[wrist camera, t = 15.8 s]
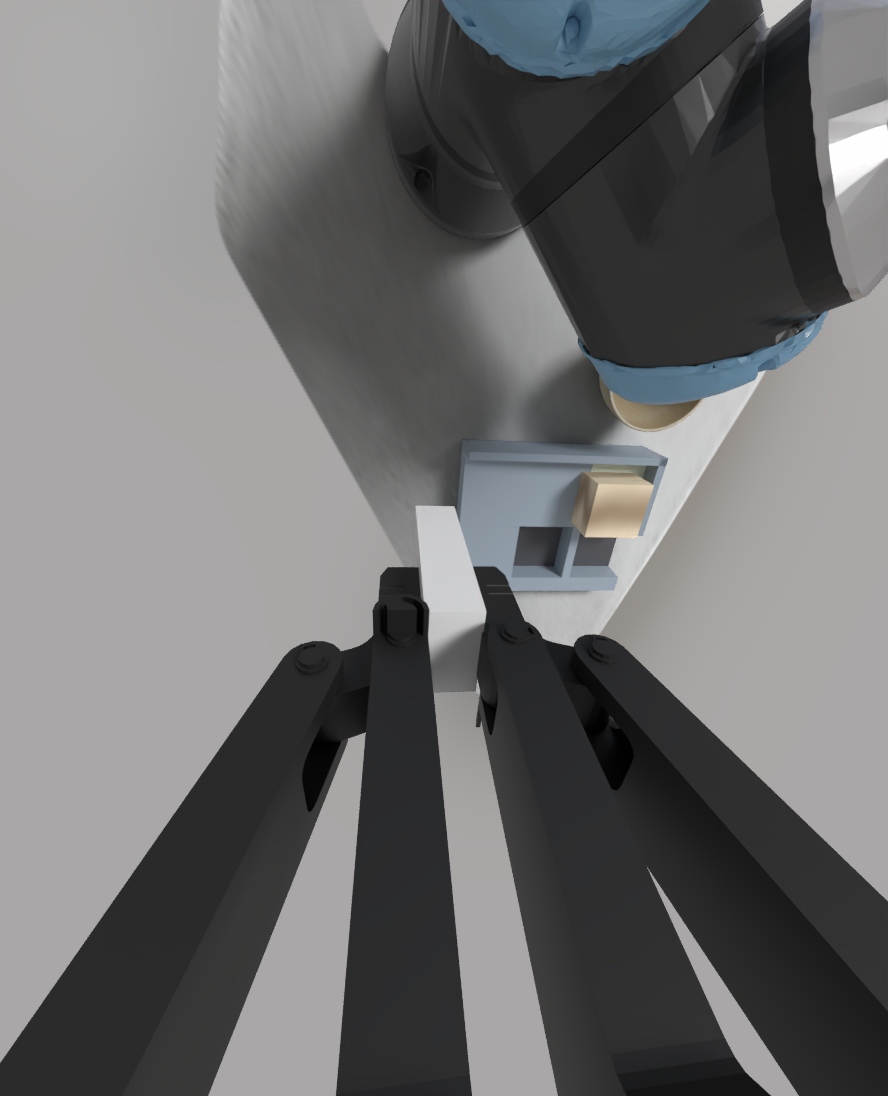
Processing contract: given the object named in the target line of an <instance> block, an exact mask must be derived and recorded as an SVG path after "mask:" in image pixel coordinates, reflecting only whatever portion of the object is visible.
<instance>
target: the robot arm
mask: <svg viewBox="0 0 888 1096" xmlns="http://www.w3.org/2000/svg"><path fill="white" fill-rule="evenodd" d="M762 13H763V8H762V3H761V0H408V1H407V3H406V5H405V7H404V9H403V11H402V13H401V15H400V18H399V21H398V23H397V26H396V29H395V33H394V36H393V40H392V44H391V48H390V52H389V57H388V63H387V71H386V83H385V103H386V120H387V130H388V137H389V142H390V147H391V151H392V155H393V158H394V162H395V165H396V167H397V170H398V173H399V175H400V177H401V180H402V182H403V184H404V186H405V188H406V190H407V191H408V193H409V194H410V196H411V198H412V199H413V201H414V202H415V203H416V205H417V206H418V207H419V208H420V210H421V211H422V212H423V213H424V214H425V215H426V216H427V217H428V218H429V219H430V220H431V221H433V222H434V223H435V224H436V225H438V226H439V227H441V228H442V229H444V230H446V231H448V232H450V233H452V234H454V235H457V236H460V237H463V238H468V239H477V240H483V239H492V238H497V237H500V236H503V235H506V234H508V233H511V232H513V231H515V230H516V229H518V228H520V227H521V226H522V227H523V230H524V232H525V234H526V236H527V238H528V240H529V242H530V244H531V246H532V248H533V250H534V252H535V254H536V256H537V258H538V260H539V262H540V264H541V265H542V267H543V269H544V271H545V273H546V275H547V277H548V279H549V281H550V283H551V285H552V287H553V289H554V291H555V293H556V295H557V297H558V299H559V300H560V302H561V304H562V306H563V308H564V310H565V312H566V314H567V316H568V318H569V320H570V322H571V324H572V326H573V328H574V330H575V332H576V334H577V336H578V344H579V346H580V349H581V351H582V352H583V354H584V355H585V356H586V357H587V358H588V359H589V360H590V361H591V362H592V363H593V365H594V366H595V368H596V370H597V372H598V373H599V375H600V377H601V379H602V380H603V382H604V383H605V385H606V386H607V388H608V389H609V390H610V391H612V392H613V393H616V394H617V395H618V396H620V397H621V398H624V399H625V400H627V401H631V402H635V403H640V404H650V405H663V404H675V403H682V402H688V401H693V400H698V399H702V398H706V397H710V396H713V395H717V394H720V393H723V392H726V391H729V390H732V389H734V388H737V387H739V386H742V385H744V384H746V383H749V382H751V381H753V380H755V379H756V377H757V374H758V372H760V371H764V370H773V369H777V368H778V367H780V366H782V365H783V364H785V363H787V362H788V361H790V360H791V359H792V358H794V357H795V356H797V355H798V354H799V353H800V352H801V351H803V350H804V349H805V348H806V347H807V346H808V345H809V344H810V343H811V341H812V340H813V339H814V338H815V337H816V336H817V335H818V333H819V331H820V330H821V327H822V325H823V322H824V319H825V318H826V316H827V314H828V311H829V310H831V309H833V308H836V307H839V306H842V305H845V304H847V303H850V302H853V301H855V300H858V299H861V298H863V297H866V296H867V295H869V294H870V293H871V292H872V290H873V289H874V288H875V287H876V286H877V284H878V283H879V282H880V281H881V280H882V279H883V278H884V277H885V275H886V274H887V273H888V0H804V1H803V2H801V3H800V4H799V5H798V6H797V7H796V8H795V9H793V10H792V11H791V12H790V13H788V14H787V15H786V16H785V17H784V18H783V19H781V20H780V21H779V22H778V23H777V24H776V25H774V26H772V27H771V28H767V26H766V22H765V18H764V14H762ZM761 14H762V15H761ZM760 15H761V16H760ZM759 16H760V17H759ZM373 634H374V635H373V636H372V637H371V638H370V639H369V640H368V641H367V642H365V643H364V644H362V645H360V646H358V647H355V648H352V649H349V650H345V651H340V650H339V649H338V648H337V647H336V646H335V645H334V644H331V643H328V642H324V641H312V642H309V643H304V644H301V645H299V646H297V647H295V648H293V649H291V651H289V652H288V653H287V654H286V655H285V656H284V658H283V659H282V661H281V662H280V663H279V665H278V666H277V668H276V669H275V670H274V672H273V673H272V675H271V676H270V678H269V679H268V681H267V682H266V683H265V685H264V686H263V688H262V689H261V690H260V692H259V693H258V695H257V696H256V698H255V699H254V700H253V702H252V703H251V705H250V706H249V708H248V709H247V710H246V712H245V713H244V715H243V716H242V718H241V719H240V721H239V722H238V724H237V725H236V727H235V728H234V729H233V731H232V732H231V733H230V735H229V736H228V738H227V739H226V741H225V742H224V743H223V745H222V746H221V748H220V749H219V751H218V752H217V754H216V755H215V757H214V758H213V759H212V761H211V762H210V763H209V765H208V766H207V768H206V769H205V771H204V772H203V773H202V775H201V776H200V778H199V779H198V781H197V782H196V784H195V785H194V787H193V788H192V789H191V791H190V792H189V794H188V795H187V796H186V798H185V799H184V801H183V802H182V804H181V805H180V806H179V808H178V809H177V811H176V812H175V814H174V815H173V816H172V818H171V819H170V821H169V822H168V824H167V825H166V826H165V828H164V829H163V831H162V832H161V834H160V835H159V837H158V838H157V840H156V841H155V842H154V844H153V845H152V847H151V848H150V850H149V851H148V852H147V854H146V855H145V857H144V858H143V860H142V861H141V863H140V864H139V865H138V867H137V868H136V870H135V871H134V872H133V874H132V875H131V877H130V878H129V879H128V881H127V882H126V884H125V885H124V887H123V888H122V890H121V891H120V892H119V894H118V895H117V897H116V898H115V900H114V901H113V902H112V904H111V905H110V907H109V908H108V910H107V911H106V912H105V914H104V916H103V917H102V918H101V920H100V921H99V923H98V924H97V925H96V927H95V928H94V930H93V931H92V932H91V934H90V935H89V937H88V938H87V940H86V941H85V942H84V944H83V945H82V947H81V948H80V950H79V951H78V953H77V954H76V955H75V957H74V958H73V960H72V961H71V963H70V964H69V966H68V967H67V968H66V970H65V971H64V973H63V974H62V976H61V977H60V978H59V980H58V981H57V983H56V984H55V986H54V987H53V988H52V990H51V991H50V993H49V994H48V995H47V997H46V998H45V1000H44V1001H43V1003H42V1004H41V1006H40V1007H39V1009H38V1010H37V1011H36V1013H35V1014H34V1016H33V1017H32V1018H31V1020H30V1021H29V1023H28V1024H27V1026H26V1027H25V1029H24V1030H23V1031H22V1033H21V1034H20V1036H19V1037H18V1038H17V1040H16V1041H15V1043H14V1044H13V1046H12V1047H11V1049H10V1050H9V1052H8V1053H7V1054H6V1056H5V1057H4V1059H3V1060H2V1061H1V1063H0V1096H208V1094H209V1092H210V1089H211V1087H212V1084H213V1082H214V1079H215V1077H216V1074H217V1072H218V1069H219V1066H220V1064H221V1061H222V1059H223V1056H224V1054H225V1051H226V1049H227V1046H228V1044H229V1041H230V1038H231V1036H232V1034H233V1031H234V1029H235V1026H236V1023H237V1021H238V1018H239V1016H240V1013H241V1011H242V1008H243V1006H244V1003H245V1001H246V998H247V995H248V993H249V991H250V988H251V985H252V983H253V980H254V978H255V975H256V972H257V970H258V968H259V965H260V963H261V960H262V957H263V955H264V953H265V950H266V947H267V945H268V942H269V940H270V937H271V935H272V932H273V930H274V927H275V925H276V922H277V920H278V917H279V915H280V912H281V909H282V907H283V904H284V902H285V899H286V897H287V894H288V892H289V889H290V887H291V884H292V882H293V879H294V877H295V874H296V871H297V869H298V866H299V864H300V861H301V859H302V856H303V854H304V851H305V849H306V846H307V843H308V841H309V839H310V836H311V833H312V831H313V828H314V826H315V823H316V821H317V818H318V816H319V813H320V811H321V808H322V806H323V803H324V801H325V798H326V795H327V793H328V790H329V788H330V785H331V783H332V780H333V778H334V775H335V773H336V770H337V767H338V765H339V763H340V760H341V758H342V755H343V752H344V750H345V747H346V745H347V742H348V738H351V737H354V736H357V735H359V734H362V733H365V732H366V736H365V749H364V761H363V773H362V787H361V798H360V810H359V823H358V835H357V846H356V859H355V871H354V884H353V895H352V907H351V919H350V932H349V944H348V956H347V968H346V980H345V993H344V1005H343V1017H342V1030H341V1043H340V1054H339V1067H338V1078H337V1090H336V1096H472V1091H471V1082H470V1074H469V1063H468V1054H467V1053H468V1052H467V1041H466V1031H465V1020H464V1010H463V999H462V989H461V978H460V967H459V957H458V947H457V936H456V925H455V916H454V904H453V894H452V883H451V873H450V862H449V852H448V841H447V830H446V821H445V809H444V799H443V790H442V789H443V788H442V778H441V767H440V757H439V747H438V736H437V725H436V714H435V704H434V692H461V691H462V692H464V691H476V684H477V678H478V683H479V687H480V697H479V704H478V712H477V718H476V727H480V724H481V721H482V726H483V730H484V735H485V740H486V745H487V750H488V755H489V760H490V765H491V770H492V775H493V779H494V784H495V789H496V794H497V799H498V804H499V808H500V814H501V819H502V824H503V828H504V833H505V838H506V843H507V848H508V852H509V857H510V862H511V867H512V873H513V877H514V882H515V887H516V891H517V897H518V902H519V907H520V912H521V917H522V921H523V926H524V931H525V936H526V941H527V946H528V951H529V956H530V961H531V965H532V970H533V975H534V980H535V985H536V990H537V995H538V1000H539V1004H540V1010H541V1015H542V1019H543V1024H544V1029H545V1034H546V1039H547V1044H548V1049H549V1054H550V1059H551V1064H552V1068H553V1073H554V1078H555V1083H556V1088H557V1092H558V1096H771V1095H769V1094H768V1093H767V1092H766V1091H765V1090H764V1089H763V1088H762V1087H761V1086H760V1085H759V1084H758V1083H756V1082H755V1081H754V1080H753V1079H752V1078H751V1077H750V1076H749V1075H748V1074H747V1073H746V1072H745V1071H744V1070H743V1068H742V1067H741V1065H740V1064H739V1063H738V1061H737V1059H736V1058H735V1057H734V1055H733V1053H732V1051H731V1049H730V1047H729V1045H728V1043H727V1041H726V1039H725V1038H724V1035H723V1033H722V1031H721V1029H720V1027H719V1024H718V1022H717V1020H716V1018H715V1016H714V1014H713V1011H712V1009H711V1007H710V1005H709V1002H708V1000H707V998H706V996H705V994H704V991H703V989H702V987H701V985H700V983H699V981H698V978H697V976H696V974H695V972H694V970H693V967H692V965H691V963H690V961H689V958H688V956H687V954H686V952H685V950H684V948H683V945H682V943H681V941H680V939H679V937H678V935H677V932H676V930H675V928H674V926H673V923H672V922H671V919H670V917H669V915H668V912H667V910H666V908H665V906H664V904H663V902H662V899H661V897H660V895H659V893H658V891H657V888H656V886H655V884H654V882H653V880H652V877H651V875H650V873H649V871H648V869H649V870H650V872H651V873H652V875H653V876H654V878H655V879H656V881H657V882H658V884H659V885H660V887H661V888H662V890H663V891H664V893H665V894H666V896H667V897H668V899H669V900H670V902H671V903H672V905H673V906H674V908H675V909H676V911H677V912H678V914H679V915H680V917H681V918H682V920H683V921H684V923H685V924H686V926H687V927H688V929H689V931H690V932H691V933H692V935H693V937H694V938H695V939H696V941H697V943H698V944H699V945H700V947H701V949H702V950H703V952H704V953H705V955H706V956H707V958H708V959H709V961H710V962H711V964H712V965H713V967H714V968H715V970H716V971H717V973H718V974H719V976H720V977H721V978H722V980H723V982H724V983H725V985H726V986H727V988H728V989H729V991H730V992H731V994H732V995H733V997H734V998H735V1000H736V1001H737V1003H738V1004H739V1006H740V1007H741V1009H742V1011H743V1012H744V1014H745V1015H746V1017H747V1018H748V1020H749V1021H750V1023H751V1024H752V1026H753V1027H754V1029H755V1030H756V1032H757V1033H758V1035H759V1036H760V1038H761V1039H762V1041H763V1042H764V1044H765V1045H766V1047H767V1048H768V1050H769V1051H770V1053H771V1054H772V1056H773V1057H774V1059H775V1060H776V1062H777V1063H778V1065H779V1066H780V1068H781V1069H782V1071H783V1072H784V1074H785V1075H786V1077H787V1078H788V1080H789V1081H790V1083H791V1084H792V1086H793V1087H794V1089H795V1090H796V1092H797V1094H798V1095H799V1096H888V901H887V900H886V899H885V898H884V897H883V896H882V895H880V894H879V893H878V892H877V891H876V890H875V889H874V888H873V887H872V886H871V885H870V884H869V883H868V882H867V881H866V880H865V879H864V878H863V877H862V876H861V875H860V874H859V873H857V871H856V870H855V869H853V868H852V867H851V866H850V865H849V864H848V863H847V862H846V861H845V860H844V859H843V858H842V857H841V856H840V855H839V854H838V853H837V852H836V851H835V850H834V849H833V848H832V847H831V846H830V845H828V843H827V842H825V841H824V840H823V839H822V838H821V837H820V836H819V835H818V834H817V833H816V832H815V831H814V830H813V829H812V828H811V827H810V826H809V825H808V824H807V823H806V822H805V821H804V820H803V819H802V818H800V816H799V815H797V814H796V813H795V812H794V811H793V810H792V809H791V808H790V807H789V806H788V805H787V804H786V803H785V802H784V801H783V800H782V799H781V798H780V797H779V796H778V795H777V794H775V792H774V791H773V790H772V789H771V788H769V787H768V786H767V785H766V784H765V783H764V782H763V781H762V780H761V779H760V778H759V777H758V776H757V775H756V774H755V773H754V772H753V771H752V770H751V769H750V768H749V767H748V766H747V765H746V764H745V763H743V762H742V761H741V760H740V759H739V758H738V757H737V756H736V755H735V754H734V753H733V752H732V751H731V750H730V749H729V748H728V747H727V746H726V745H725V744H724V743H723V742H722V741H721V740H720V739H719V738H718V737H717V736H715V735H714V734H713V733H712V732H711V731H710V730H709V729H708V728H707V727H706V726H705V725H704V724H703V723H702V722H701V721H700V720H699V719H698V718H697V717H696V716H695V715H694V714H693V713H692V712H691V711H689V709H687V708H686V707H685V706H684V705H683V704H682V703H681V702H680V701H679V700H678V699H677V698H676V697H675V696H674V695H673V694H672V693H671V692H670V691H669V690H668V689H667V688H666V687H665V686H664V685H663V684H662V683H660V682H659V681H658V680H657V679H656V678H655V677H654V676H653V675H652V674H651V673H650V672H649V671H648V670H647V669H646V668H645V667H644V666H643V665H642V664H641V663H640V662H639V661H638V660H637V659H635V657H633V655H631V654H630V653H629V652H628V651H627V650H626V649H625V648H624V647H623V646H622V645H620V644H619V643H617V642H616V641H614V640H612V639H610V638H607V637H605V636H600V635H595V634H594V635H584V636H582V637H579V638H578V639H577V641H576V642H575V644H574V647H572V646H567V645H562V644H557V643H553V642H550V641H547V640H545V639H543V638H542V636H541V634H540V633H539V631H538V630H537V629H536V628H535V627H534V626H532V625H531V624H530V623H528V622H525V621H524V618H523V616H522V614H521V611H520V609H519V607H518V604H517V602H516V599H515V597H514V595H513V594H512V590H511V588H510V586H509V583H508V581H507V578H506V576H505V574H503V573H502V572H501V571H500V570H499V569H498V568H497V567H495V566H472V562H471V559H470V556H469V553H468V549H467V546H466V543H465V540H464V536H463V533H462V530H461V526H460V523H459V520H458V517H457V513H456V510H455V507H454V506H416V508H415V544H414V567H396V568H395V567H388V568H387V569H386V570H385V571H384V572H383V574H382V575H381V577H380V589H379V601H378V602H377V603H376V604H375V606H374V609H373ZM613 720H614V721H615V722H614V721H613ZM647 867H648V869H647Z"/></svg>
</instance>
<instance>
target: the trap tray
mask: <svg viewBox="0 0 888 1096" xmlns="http://www.w3.org/2000/svg"><path fill="white" fill-rule="evenodd" d="M667 461H668V458H666V457H664V456H662V455H660V454H658V453H656V452H654V451H652V450H649V449H647V448H645V447H643V446H622V445H596V444H570V443H544V442H517V441H491V440H465V439H463V440H462V453H461V465H460V477H459V489H458V502H457V517H458V520H459V523H460V526H461V530H462V533H463V536H464V540H465V543H466V546H467V549H468V553H469V556H470V559H471V562H472V566H495V567H497V568H498V569H499V570H500V571H501V572H502V573H503V574H505V576H506V578H507V581H508V583H509V586H510V588H511V590H512V591H598V590H614V588H615V585H616V582H617V579H618V577H617V576H616V575H615V574H614V572H613V571H612V570H611V569H610V568H609V567H608V564H609V561H610V558H611V554H612V551H613V548H614V544H615V541H616V538H613V537H584V536H583V535H582V534H581V532H580V531H579V530H578V529H577V528H576V527H575V526H574V525H573V524H572V522H571V518H572V513H573V509H574V505H575V501H576V497H577V492H578V488H579V484H580V480H581V476H582V471H583V472H614V473H635V474H636V475H638V476H639V477H641V478H643V479H644V480H646V481H648V482H649V483H651V484H653V485H654V488H653V491H652V494H651V497H650V500H649V503H648V506H647V509H646V512H645V515H644V518H643V521H642V524H641V527H640V530H639V533H638V536H643V533H644V530H645V527H646V524H647V521H648V518H649V515H650V512H651V509H652V506H653V503H654V500H655V497H656V494H657V491H658V488H659V485H660V482H661V479H662V476H663V473H664V470H665V467H666V464H667Z"/></svg>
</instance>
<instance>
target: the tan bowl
mask: <svg viewBox="0 0 888 1096" xmlns="http://www.w3.org/2000/svg"><path fill="white" fill-rule="evenodd" d="M599 384H600V389H601V393H602V396H603V399H604V401H605V403H606V405H607V406H608V408H609V409H610V410H611V412H612V413H613V414H614V415H615V416H616V417H617V418H618V419H619V420H620V421H621V422H623V423H624V424H625V425H627V426H629V427H630V428H633V429H635V430H638V431H644V432H655V431H661V430H664V429H667V428H670V427H672V426H674V425H676V424H678V423H680V422H681V421H683V420H684V419H686V418H687V417H688V416H689V415H690V414H692V413H693V412H694V411H695V410H696V409H697V407H698V406H699V405H700V404H701V403H702V401H703V400H704V399H705V398H702V399H698V400H693V401H688V402H682V403H675V404H663V405H650V404H640V403H635V402H631V401H627V400H625V399H624V398H621V397H620V396H618V395H617V394H616V393H613V392H612V391H610V390H609V389H608V388H607V386H606V385H605V383H604V382H603V380H602V379H601V377H600V375H599Z"/></svg>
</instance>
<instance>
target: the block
mask: <svg viewBox="0 0 888 1096" xmlns="http://www.w3.org/2000/svg"><path fill="white" fill-rule="evenodd" d="M653 488H654V485H653V484H651V483H649V482H648V481H646V480H644V479H643V478H641V477H639V476H638V475H636V474H635V473H614V472H583V471H582V476H581V480H580V484H579V488H578V492H577V497H576V501H575V505H574V509H573V513H572V518H571V522H572V524H573V525H574V526H575V527H576V528H577V529H578V530H579V531H580V532H581V534H582V535H583V536H584V537H613V538H637V536H638V533H639V530H640V527H641V524H642V521H643V518H644V515H645V512H646V509H647V506H648V503H649V500H650V497H651V494H652V491H653Z"/></svg>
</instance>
